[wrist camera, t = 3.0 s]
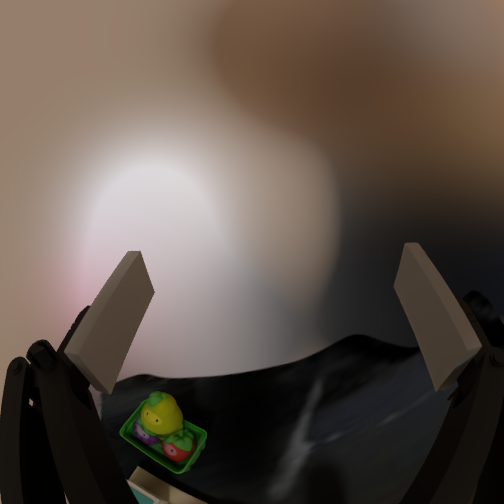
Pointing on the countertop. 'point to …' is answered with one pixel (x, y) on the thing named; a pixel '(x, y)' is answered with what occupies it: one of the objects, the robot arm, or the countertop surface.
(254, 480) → the countertop surface
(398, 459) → the countertop surface
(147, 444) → the fruit basket
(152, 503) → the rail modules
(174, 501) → the board
